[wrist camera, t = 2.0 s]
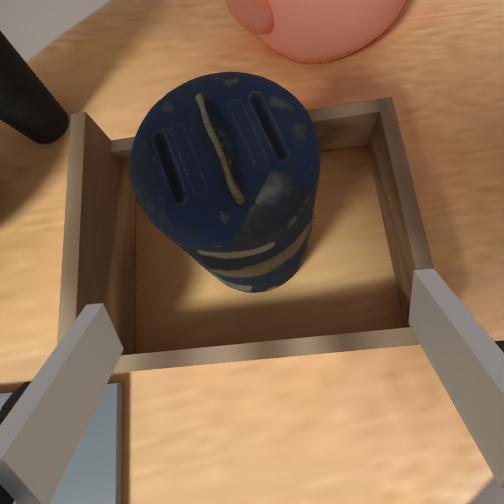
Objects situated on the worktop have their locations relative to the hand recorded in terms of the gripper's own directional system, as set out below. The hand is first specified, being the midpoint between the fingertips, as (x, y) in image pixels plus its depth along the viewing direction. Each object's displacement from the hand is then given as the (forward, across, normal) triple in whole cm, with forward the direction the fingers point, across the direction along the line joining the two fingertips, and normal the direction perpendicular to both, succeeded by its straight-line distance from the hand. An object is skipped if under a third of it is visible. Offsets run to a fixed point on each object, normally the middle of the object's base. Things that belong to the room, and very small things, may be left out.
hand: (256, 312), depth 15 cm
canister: (+17, -1, -6) cm, 18 cm away
